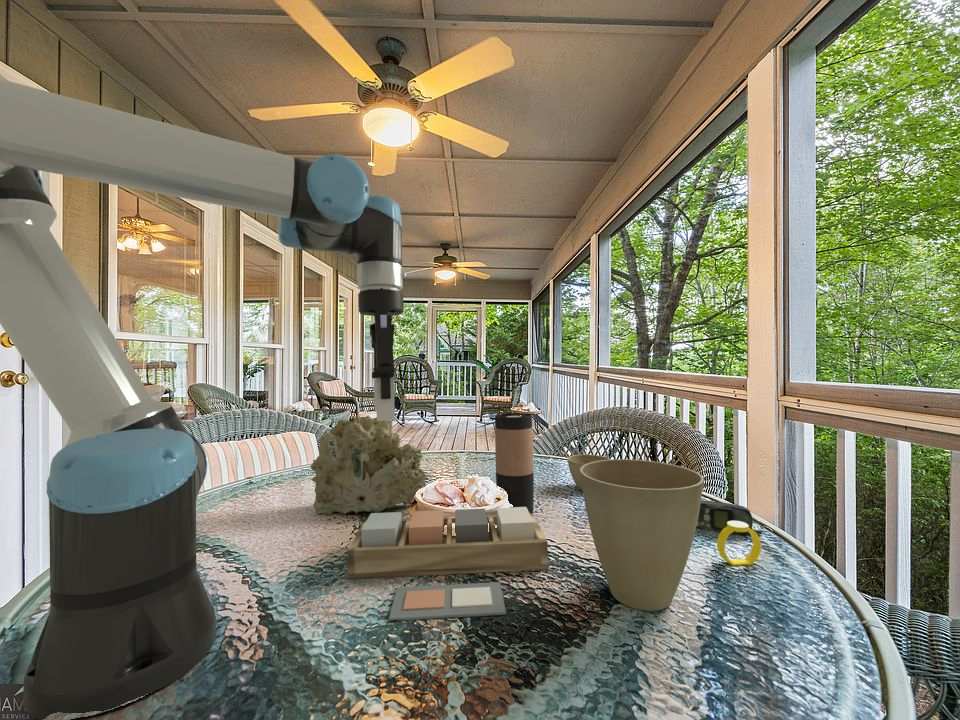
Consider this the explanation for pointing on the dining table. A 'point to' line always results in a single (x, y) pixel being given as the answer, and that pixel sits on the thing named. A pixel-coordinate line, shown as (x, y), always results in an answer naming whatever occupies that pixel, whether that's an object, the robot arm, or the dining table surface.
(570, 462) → the flower pot
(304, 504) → the dining table surface
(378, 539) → the key bluegrey
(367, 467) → the coral
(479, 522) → the grey rectangular block
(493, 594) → the card
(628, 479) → the plant pot
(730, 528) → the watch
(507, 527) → the cream rectangular block
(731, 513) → the mobile phone
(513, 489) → the travel mug
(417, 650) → the dining table surface
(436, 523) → the key terracotta
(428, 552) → the wooden compartment tray
